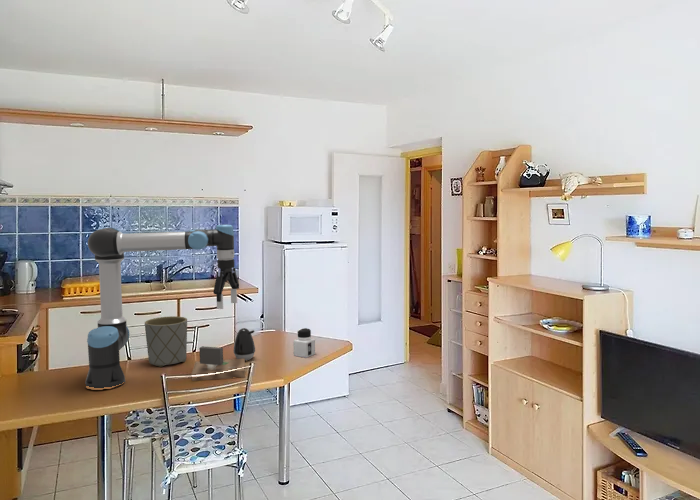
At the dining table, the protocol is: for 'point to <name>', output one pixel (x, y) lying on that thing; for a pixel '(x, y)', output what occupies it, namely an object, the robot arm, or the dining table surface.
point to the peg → (211, 356)
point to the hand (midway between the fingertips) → (227, 305)
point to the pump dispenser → (244, 344)
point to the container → (304, 343)
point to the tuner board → (220, 370)
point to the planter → (166, 340)
